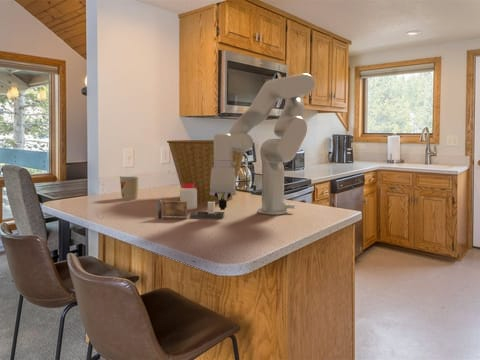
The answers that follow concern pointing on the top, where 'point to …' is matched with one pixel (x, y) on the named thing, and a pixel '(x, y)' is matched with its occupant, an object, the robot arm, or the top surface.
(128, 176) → the coffee cup
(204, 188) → the basket
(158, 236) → the top surface
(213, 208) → the fader cap
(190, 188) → the pill bottle
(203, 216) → the board
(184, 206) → the door
